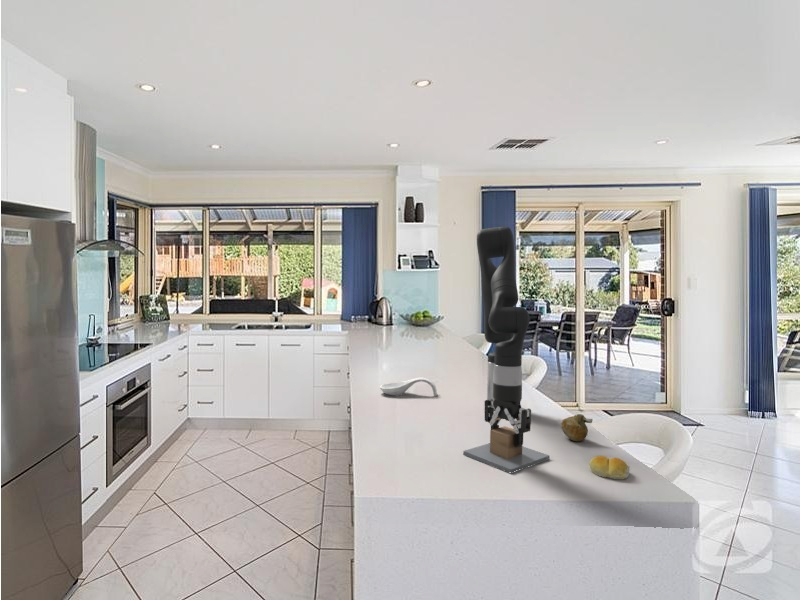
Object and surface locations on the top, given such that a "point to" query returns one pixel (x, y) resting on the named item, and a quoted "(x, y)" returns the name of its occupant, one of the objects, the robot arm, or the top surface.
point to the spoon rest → (404, 386)
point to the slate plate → (510, 464)
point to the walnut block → (504, 442)
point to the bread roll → (609, 467)
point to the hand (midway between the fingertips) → (506, 442)
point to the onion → (575, 427)
